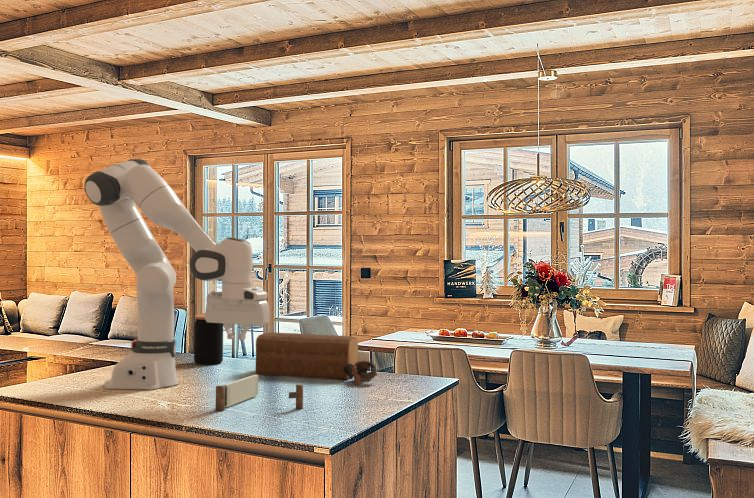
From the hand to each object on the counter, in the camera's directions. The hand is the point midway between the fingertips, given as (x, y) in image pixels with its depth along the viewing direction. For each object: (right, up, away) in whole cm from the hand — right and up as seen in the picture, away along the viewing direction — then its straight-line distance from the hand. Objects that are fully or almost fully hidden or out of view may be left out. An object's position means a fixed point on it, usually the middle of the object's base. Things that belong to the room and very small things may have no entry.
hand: (236, 339), depth 208 cm
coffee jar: (-22, -17, +58) cm, 64 cm away
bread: (+17, -18, +39) cm, 46 cm away
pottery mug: (+36, -18, +26) cm, 48 cm away
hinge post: (-1, -17, -17) cm, 24 cm away
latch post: (+19, -17, -13) cm, 29 cm away
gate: (+3, -17, -6) cm, 18 cm away
